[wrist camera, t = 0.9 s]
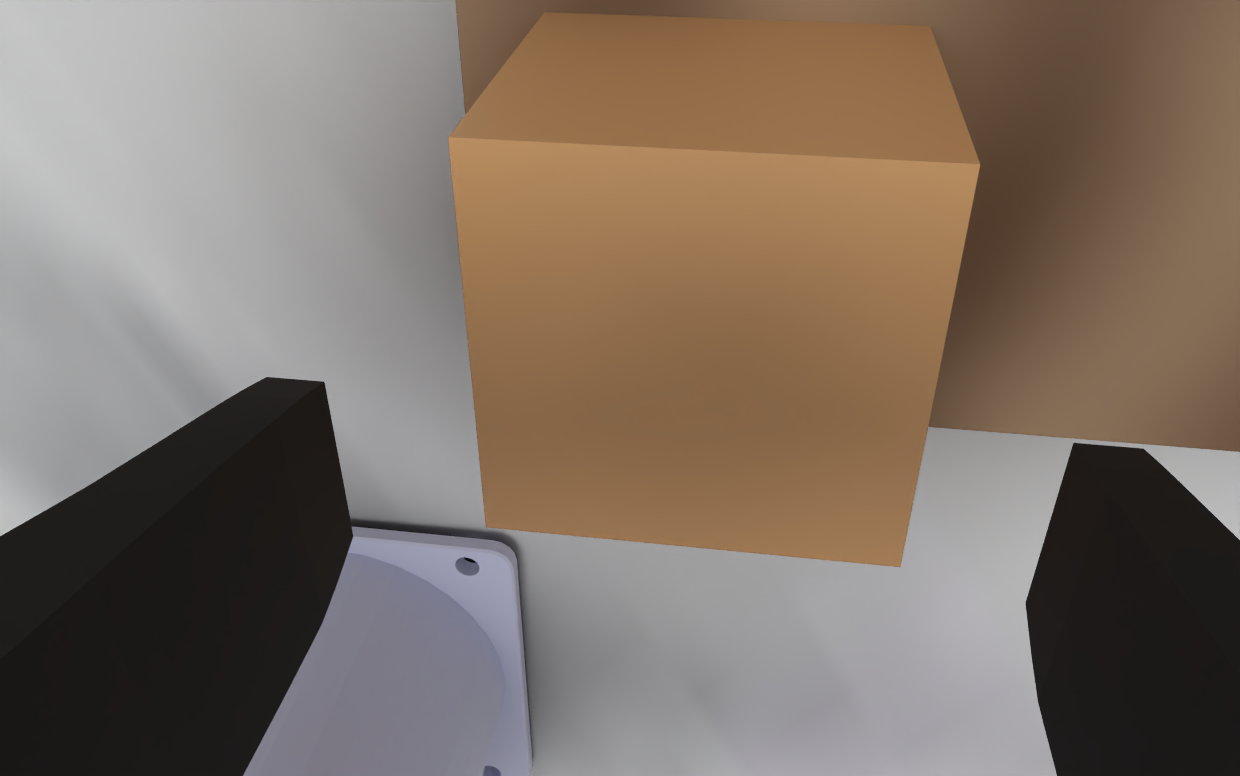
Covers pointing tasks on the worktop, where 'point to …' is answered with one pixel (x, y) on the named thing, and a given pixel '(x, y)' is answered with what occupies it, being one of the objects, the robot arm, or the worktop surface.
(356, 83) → the worktop surface
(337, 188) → the worktop surface
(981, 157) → the board
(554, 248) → the tan shipping carton
